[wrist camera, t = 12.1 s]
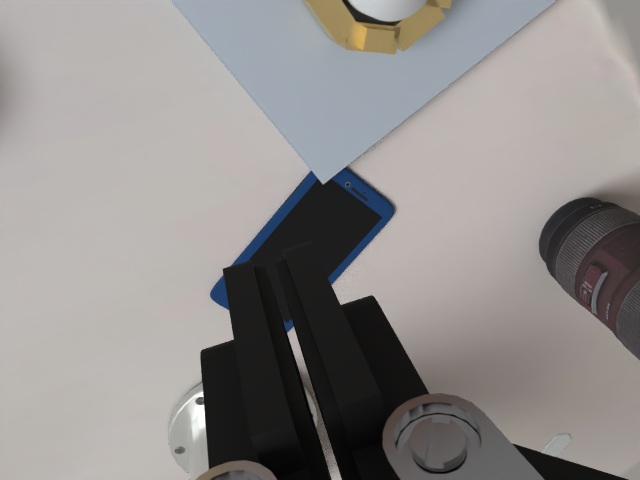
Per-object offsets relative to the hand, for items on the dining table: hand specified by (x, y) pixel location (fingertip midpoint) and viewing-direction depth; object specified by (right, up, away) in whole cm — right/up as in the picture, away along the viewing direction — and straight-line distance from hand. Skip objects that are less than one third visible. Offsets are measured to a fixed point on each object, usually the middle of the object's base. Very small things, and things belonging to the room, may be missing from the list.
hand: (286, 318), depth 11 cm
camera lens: (+22, +2, +37) cm, 43 cm away
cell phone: (-1, +1, +32) cm, 32 cm away
